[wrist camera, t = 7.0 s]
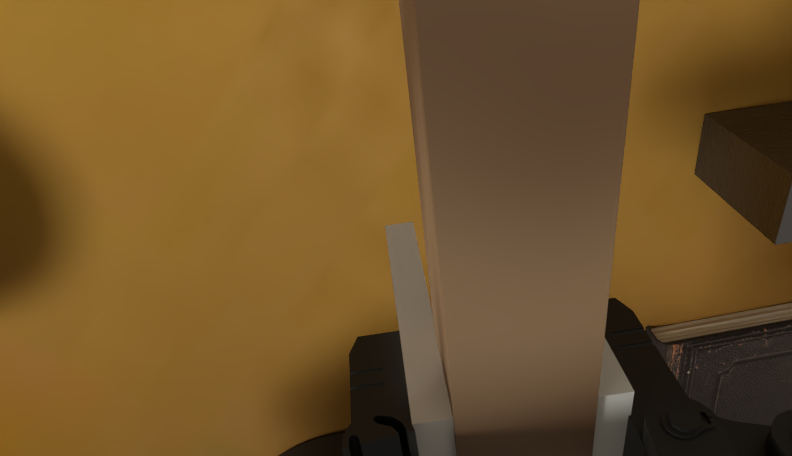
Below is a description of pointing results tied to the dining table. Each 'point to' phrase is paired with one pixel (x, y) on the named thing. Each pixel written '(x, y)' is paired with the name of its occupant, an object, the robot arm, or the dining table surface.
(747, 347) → the hardcover book
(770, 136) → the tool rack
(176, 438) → the dining table surface
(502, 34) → the walnut stick
